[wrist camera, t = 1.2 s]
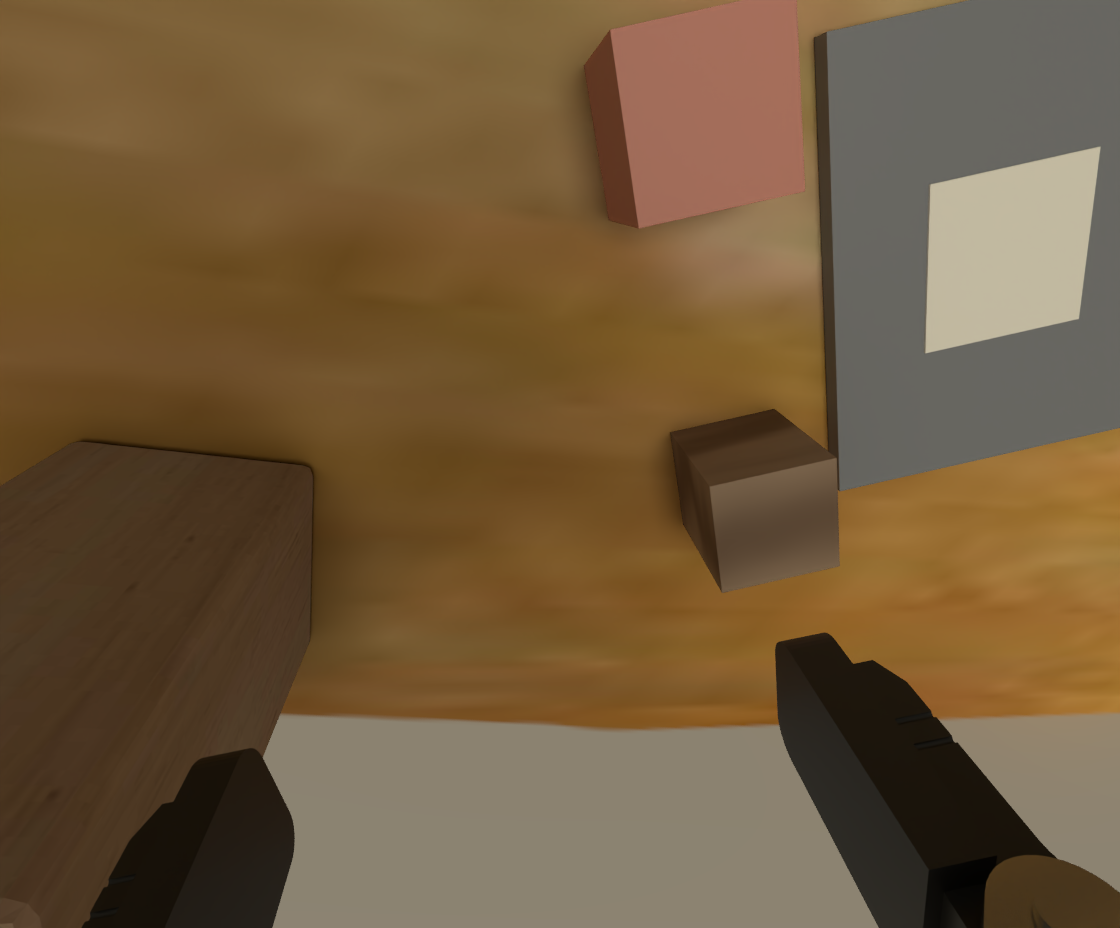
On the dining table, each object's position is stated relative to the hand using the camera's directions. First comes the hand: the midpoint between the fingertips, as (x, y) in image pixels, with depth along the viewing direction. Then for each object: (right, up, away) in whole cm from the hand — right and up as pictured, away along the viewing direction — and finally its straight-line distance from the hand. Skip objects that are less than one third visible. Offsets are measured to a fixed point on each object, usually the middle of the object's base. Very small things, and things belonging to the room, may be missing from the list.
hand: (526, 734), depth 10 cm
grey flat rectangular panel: (+19, +13, +18) cm, 30 cm away
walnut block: (+9, +4, +21) cm, 23 cm away
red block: (+5, +17, +15) cm, 23 cm away
